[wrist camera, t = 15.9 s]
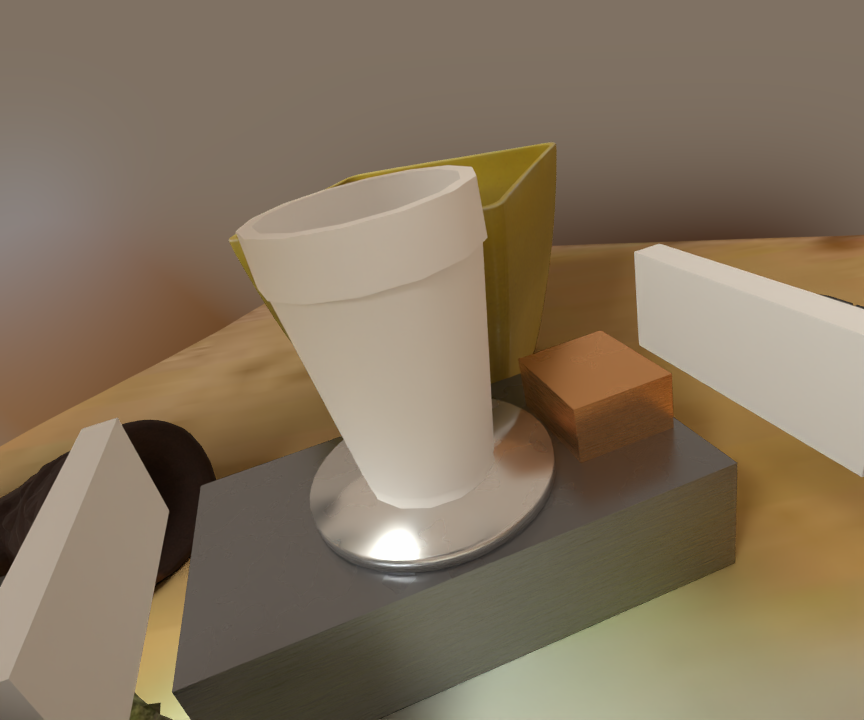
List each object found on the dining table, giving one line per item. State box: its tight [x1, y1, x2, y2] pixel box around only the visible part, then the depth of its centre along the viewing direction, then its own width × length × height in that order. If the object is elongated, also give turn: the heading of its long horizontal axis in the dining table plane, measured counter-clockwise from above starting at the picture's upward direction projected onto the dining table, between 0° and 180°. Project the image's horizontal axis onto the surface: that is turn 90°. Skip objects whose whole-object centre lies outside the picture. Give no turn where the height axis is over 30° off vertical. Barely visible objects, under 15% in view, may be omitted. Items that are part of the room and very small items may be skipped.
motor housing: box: [172, 330, 737, 720], centre depth 29 cm, size 24×13×9 cm, turn 107°
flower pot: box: [229, 142, 556, 384], centre depth 45 cm, size 19×19×17 cm
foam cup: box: [236, 165, 495, 509], centre depth 25 cm, size 10×9×13 cm
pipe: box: [0, 420, 216, 584], centre depth 36 cm, size 10×15×15 cm
